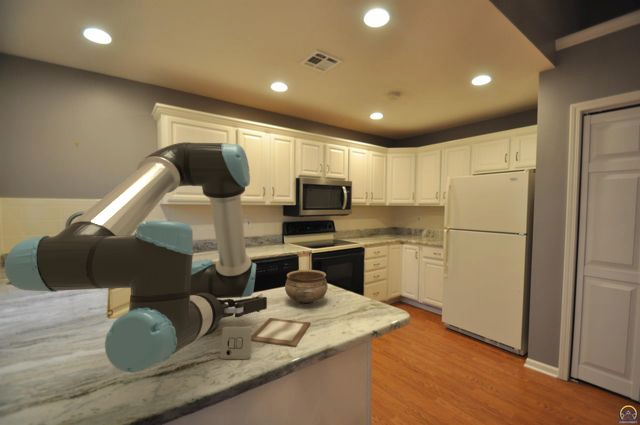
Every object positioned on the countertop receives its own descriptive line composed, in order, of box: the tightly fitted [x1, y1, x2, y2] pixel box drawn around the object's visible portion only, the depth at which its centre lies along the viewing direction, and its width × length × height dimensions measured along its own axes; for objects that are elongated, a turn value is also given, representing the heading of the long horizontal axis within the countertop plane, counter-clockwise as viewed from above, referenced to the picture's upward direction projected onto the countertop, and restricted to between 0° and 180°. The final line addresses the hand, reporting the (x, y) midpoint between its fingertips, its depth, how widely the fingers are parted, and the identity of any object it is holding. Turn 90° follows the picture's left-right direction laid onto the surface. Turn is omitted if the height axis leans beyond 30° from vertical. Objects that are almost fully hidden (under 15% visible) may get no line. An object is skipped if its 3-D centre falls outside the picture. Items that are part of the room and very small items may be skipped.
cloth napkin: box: [251, 317, 311, 348], centre depth 89 cm, size 16×16×1 cm
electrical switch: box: [219, 326, 253, 360], centre depth 75 cm, size 8×5×8 cm, turn 90°
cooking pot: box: [284, 269, 328, 305], centre depth 117 cm, size 25×19×12 cm
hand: (234, 299), depth 68 cm, fingers open, 13 cm apart
